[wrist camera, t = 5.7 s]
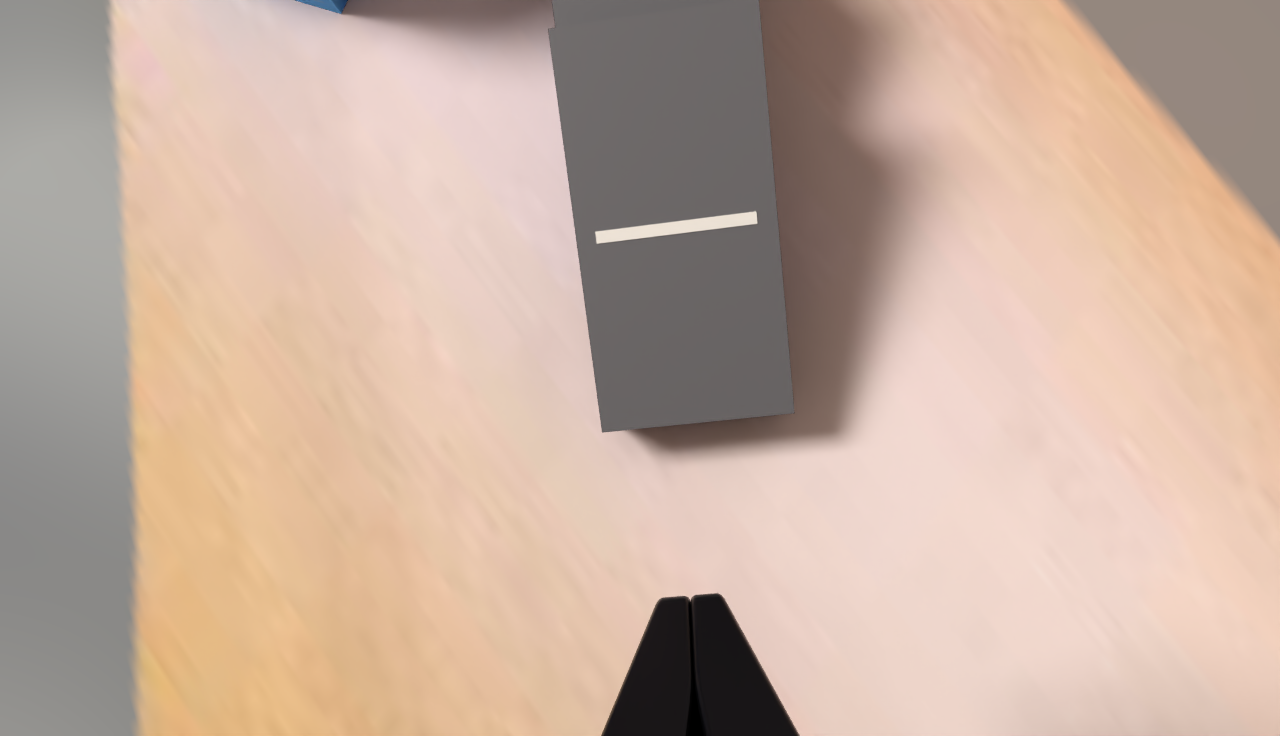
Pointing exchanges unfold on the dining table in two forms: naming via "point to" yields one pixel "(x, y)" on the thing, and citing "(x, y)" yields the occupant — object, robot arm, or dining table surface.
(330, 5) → the perfume bottle
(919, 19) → the dining table surface
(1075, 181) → the dining table surface
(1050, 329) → the dining table surface
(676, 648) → the robot arm
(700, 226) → the domino
